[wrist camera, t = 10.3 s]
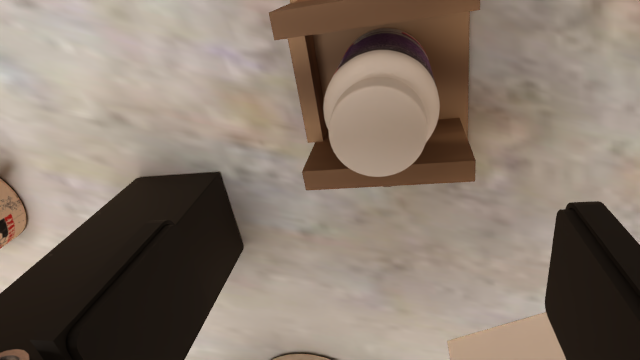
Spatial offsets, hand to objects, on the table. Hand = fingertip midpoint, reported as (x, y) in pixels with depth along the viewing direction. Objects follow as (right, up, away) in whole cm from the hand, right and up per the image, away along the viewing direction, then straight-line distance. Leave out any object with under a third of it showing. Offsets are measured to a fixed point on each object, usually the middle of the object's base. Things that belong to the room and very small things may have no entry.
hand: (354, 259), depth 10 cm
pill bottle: (+3, +9, +14) cm, 17 cm away
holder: (+3, +9, +15) cm, 18 cm away
